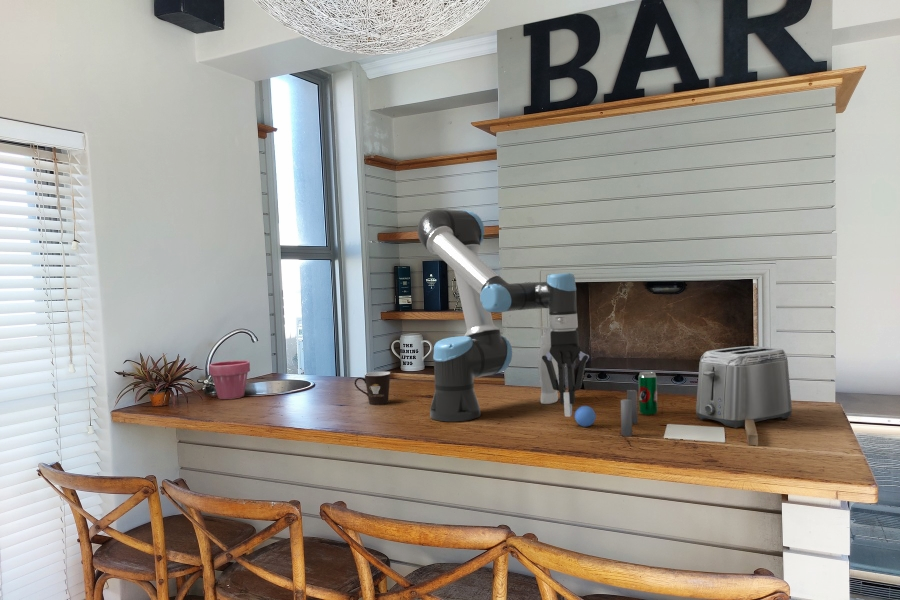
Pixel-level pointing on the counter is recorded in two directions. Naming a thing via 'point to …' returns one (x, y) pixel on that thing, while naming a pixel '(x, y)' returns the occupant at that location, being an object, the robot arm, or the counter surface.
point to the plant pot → (230, 378)
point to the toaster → (743, 385)
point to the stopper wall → (751, 432)
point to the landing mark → (695, 433)
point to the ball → (585, 416)
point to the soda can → (647, 393)
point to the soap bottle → (546, 387)
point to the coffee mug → (376, 387)
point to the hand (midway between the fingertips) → (568, 415)
